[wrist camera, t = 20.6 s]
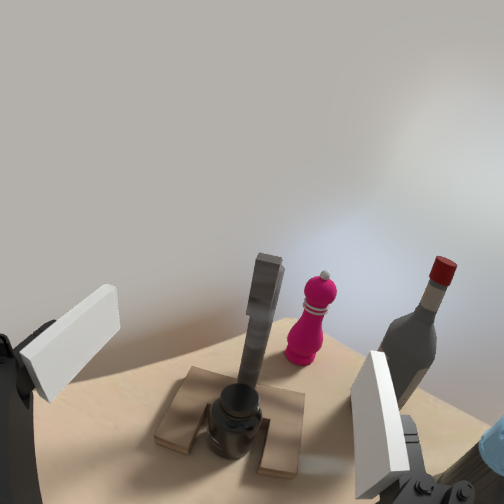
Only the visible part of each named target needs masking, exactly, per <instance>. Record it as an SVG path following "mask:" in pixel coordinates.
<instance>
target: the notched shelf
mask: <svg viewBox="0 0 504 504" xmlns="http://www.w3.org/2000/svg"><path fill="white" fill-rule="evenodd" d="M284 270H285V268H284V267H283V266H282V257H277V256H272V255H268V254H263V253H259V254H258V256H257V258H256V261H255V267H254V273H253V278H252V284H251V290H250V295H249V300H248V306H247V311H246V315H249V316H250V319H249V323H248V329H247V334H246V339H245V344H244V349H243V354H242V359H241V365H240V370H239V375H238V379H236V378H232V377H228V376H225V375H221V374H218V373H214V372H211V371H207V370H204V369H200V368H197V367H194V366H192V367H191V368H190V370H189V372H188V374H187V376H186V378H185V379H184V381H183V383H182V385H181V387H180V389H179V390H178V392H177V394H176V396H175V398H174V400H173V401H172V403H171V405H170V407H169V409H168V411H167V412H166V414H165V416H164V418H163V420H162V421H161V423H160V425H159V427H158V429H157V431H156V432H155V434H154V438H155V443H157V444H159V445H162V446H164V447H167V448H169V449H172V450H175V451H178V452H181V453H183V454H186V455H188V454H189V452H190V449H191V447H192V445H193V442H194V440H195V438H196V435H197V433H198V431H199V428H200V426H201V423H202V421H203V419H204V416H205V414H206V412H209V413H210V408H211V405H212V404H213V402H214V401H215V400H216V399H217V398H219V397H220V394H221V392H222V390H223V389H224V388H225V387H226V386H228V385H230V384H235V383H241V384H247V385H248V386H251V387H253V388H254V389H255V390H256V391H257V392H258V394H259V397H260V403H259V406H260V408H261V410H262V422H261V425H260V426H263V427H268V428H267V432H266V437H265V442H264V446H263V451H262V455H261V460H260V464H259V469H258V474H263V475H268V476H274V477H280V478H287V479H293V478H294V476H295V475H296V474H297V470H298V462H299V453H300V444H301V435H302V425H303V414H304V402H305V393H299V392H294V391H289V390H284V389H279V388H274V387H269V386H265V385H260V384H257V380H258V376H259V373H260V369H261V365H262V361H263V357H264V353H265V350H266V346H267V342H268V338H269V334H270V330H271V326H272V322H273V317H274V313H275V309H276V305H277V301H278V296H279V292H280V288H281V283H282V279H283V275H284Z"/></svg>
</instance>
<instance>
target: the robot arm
mask: <svg viewBox="0 0 504 504" xmlns="http://www.w3.org/2000/svg"><path fill="white" fill-rule="evenodd" d="M119 329H120V320H119V311H118V301H117V288H116V287H114V286H111V285H108V284H106V283H105V284H104V285H103V286H101V287H100V288H99V289H97V290H96V291H95V292H93V293H92V294H91V295H90V296H88V297H87V298H86V299H84V300H83V301H82V302H80V303H79V304H78V305H76V306H75V307H74V308H72V309H71V310H70V311H69V312H67V313H66V314H65V315H64V316H62V317H61V318H60V319H59V320H57V321H56V320H52V321H49V322H47V323H45V324H43V325H42V326H41V327H40V328H38V330H36V331H35V332H33V334H31V335H30V336H29V337H27V338H26V339H25V340H24V341H22V342H21V343H20V344H19V345H18V346H16V347H15V348H14V349H12V346H11V344H10V341H9V339H8V337H7V336H6V335H4V334H0V504H43V503H42V498H41V493H40V487H39V481H38V474H37V466H36V457H35V445H34V426H33V392H32V390H33V389H34V388H36V390H37V392H38V394H39V396H41V397H42V398H43V399H45V400H46V401H47V402H49V403H51V402H52V401H53V400H54V399H55V398H56V397H57V395H58V394H59V393H60V392H61V391H62V390H63V389H64V388H65V387H66V385H67V384H68V383H69V382H70V381H71V380H72V379H73V378H74V377H75V376H76V375H77V373H78V372H79V371H80V370H81V369H82V368H83V367H84V366H85V365H86V364H87V363H88V362H89V361H90V360H91V358H92V357H93V356H94V355H95V354H96V353H97V352H98V351H99V350H100V349H101V348H102V347H103V346H104V345H105V344H106V343H107V342H108V341H109V339H110V338H112V336H114V334H115V333H116V332H117V331H118V330H119ZM350 390H351V402H352V415H353V430H354V451H355V499H373V498H374V497H376V496H377V495H378V494H380V501H378V502H377V503H375V504H504V416H502V418H501V419H500V420H499V421H498V422H497V423H496V424H495V425H494V426H493V427H491V428H490V429H488V430H487V431H486V432H485V433H484V434H483V436H482V437H481V439H480V441H479V442H478V443H477V444H476V445H474V446H473V447H472V448H471V449H470V450H469V451H468V452H467V453H466V454H465V455H464V456H462V457H461V458H460V459H459V460H458V461H457V462H456V463H454V464H453V465H452V466H451V467H450V468H449V469H447V470H446V471H445V472H443V473H440V474H437V475H434V476H431V475H430V474H427V473H426V471H425V466H424V461H423V456H422V451H421V446H420V443H419V437H418V436H417V434H418V432H417V428H416V424H415V422H414V421H413V419H412V418H411V417H410V415H400V413H399V409H398V404H397V400H396V396H395V391H394V387H393V383H392V379H391V376H390V372H389V368H388V364H387V361H386V357H385V353H384V352H378V351H370V352H369V354H368V356H367V358H366V360H365V362H364V364H363V366H362V368H361V370H360V372H359V374H358V376H357V377H356V379H355V381H354V383H353V385H352V386H351V388H350Z"/></svg>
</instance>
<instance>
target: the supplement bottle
mask: <svg viewBox="0 0 504 504" xmlns="http://www.w3.org/2000/svg"><path fill="white" fill-rule="evenodd" d="M259 403H260V397H259V394H258V392H257V391H256V390H255V389H254V388H253V387H251V386H248V385H247V384H241V383H235V384H230V385H228V386H226V387H225V388H224V389H223V390H222V392H221V394H220V397H219V398H217V399H216V400H215V401H214V402H213V404H212V405H211V408H210V413H209V421H208V429H207V444H208V446H209V448H210V449H211V451H212V452H213V453H215V454H216V455H218V456H220V457H222V458H226V459H236V458H240V457H242V456H244V455H246V454H247V453H248V452H249V451H250V449H251V447H252V445H253V443H254V440H255V438H256V435H257V433H258V430H259V428H260V425H261V422H262V410H261V408H260V406H259Z"/></svg>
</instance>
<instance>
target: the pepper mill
mask: <svg viewBox="0 0 504 504" xmlns="http://www.w3.org/2000/svg"><path fill="white" fill-rule="evenodd" d="M329 278H330V273H329V272H328V271H326V270H324V271H322V272H321V274H320V276H316V277H313V278H311V279H310V280H309V281H308V282H307V283H306V286H305V289H304V293H305V296H306V298H305V299H304V303H303V308H304V312H303V314H302V316H301V318H300V319H299V320H298V322H297V323H296V324H295V325H294V326H293V327H292V328H291V330H290V332H289V334H288V337H287V341H288V345H287V348H286V352H285V354H286V357H287V358H288V360H290V361H291V362H292V363H294V364H297V365H308V364H310V363H312V362H313V360H314V358H315V355H316V352H317V351H319V350H320V348H321V346H322V342H323V332H322V320H323V317H324V315H325V314H326V313H328V309H329V307H330V303H332V302H333V301H334V299H335V297H336V293H337V289H336V286H335V284H334V282H333V281H332V280H330V279H329Z"/></svg>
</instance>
